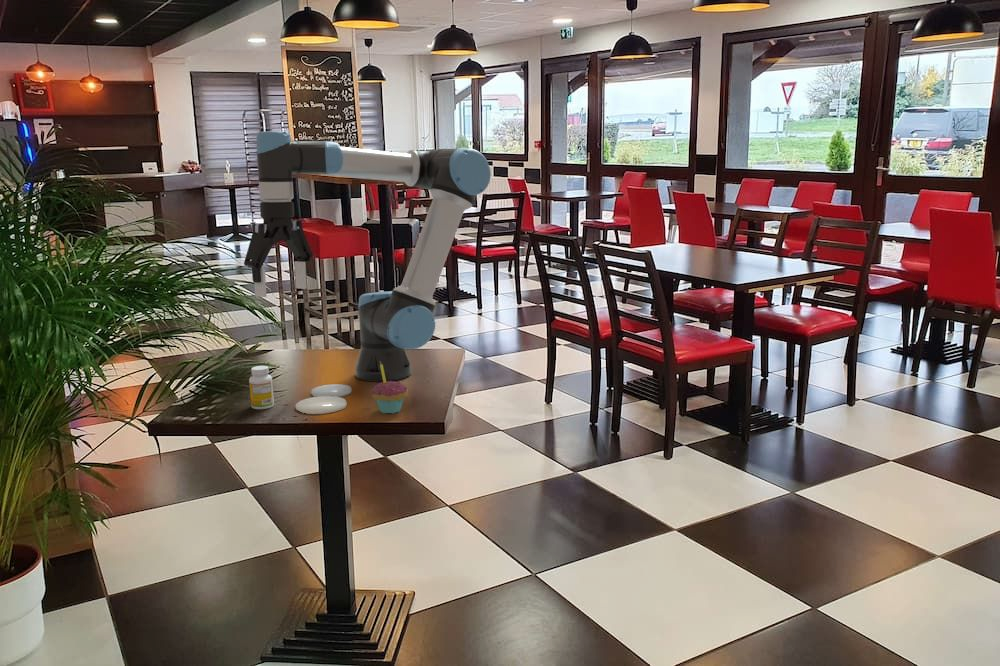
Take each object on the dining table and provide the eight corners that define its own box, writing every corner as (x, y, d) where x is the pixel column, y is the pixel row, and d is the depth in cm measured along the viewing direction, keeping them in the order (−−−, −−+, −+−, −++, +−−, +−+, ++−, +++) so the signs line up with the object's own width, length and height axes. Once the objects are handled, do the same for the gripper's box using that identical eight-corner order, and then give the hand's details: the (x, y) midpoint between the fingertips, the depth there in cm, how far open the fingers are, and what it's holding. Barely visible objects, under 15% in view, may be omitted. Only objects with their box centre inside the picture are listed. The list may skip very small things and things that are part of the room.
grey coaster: (343, 385, 214) (343, 382, 214) (357, 394, 206) (357, 391, 206) (306, 391, 209) (306, 388, 209) (318, 400, 201) (318, 397, 201)
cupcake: (368, 415, 189) (365, 365, 186) (378, 404, 197) (376, 356, 195) (403, 416, 188) (401, 366, 185) (412, 405, 196) (410, 357, 193)
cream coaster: (336, 396, 204) (336, 393, 204) (353, 408, 194) (353, 405, 194) (289, 404, 198) (289, 401, 198) (304, 417, 188) (304, 414, 188)
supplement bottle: (256, 402, 200) (253, 364, 198) (277, 403, 199) (274, 364, 197) (247, 409, 195) (244, 370, 193) (269, 410, 194) (266, 370, 192)
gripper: (300, 198, 198) (305, 284, 203) (223, 202, 177) (229, 298, 181) (325, 199, 195) (328, 286, 199) (249, 203, 173) (255, 301, 178)
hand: (281, 292), depth 190 cm, fingers open, 13 cm apart
